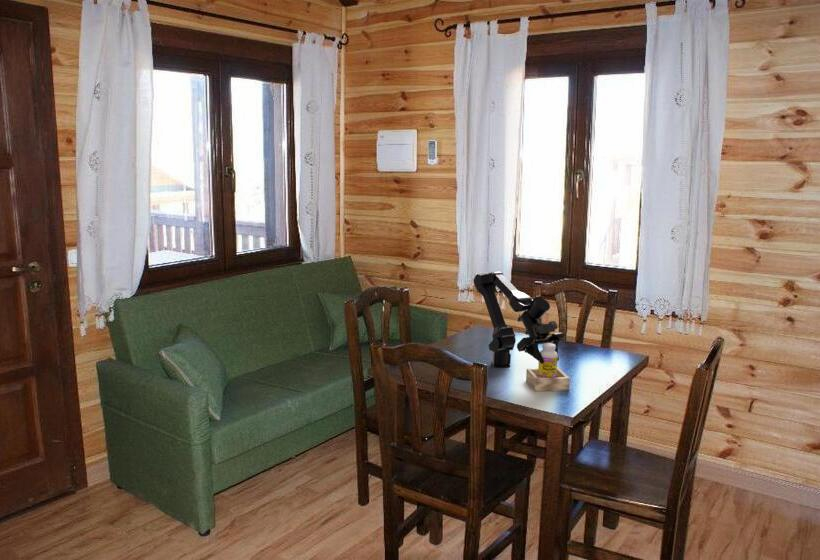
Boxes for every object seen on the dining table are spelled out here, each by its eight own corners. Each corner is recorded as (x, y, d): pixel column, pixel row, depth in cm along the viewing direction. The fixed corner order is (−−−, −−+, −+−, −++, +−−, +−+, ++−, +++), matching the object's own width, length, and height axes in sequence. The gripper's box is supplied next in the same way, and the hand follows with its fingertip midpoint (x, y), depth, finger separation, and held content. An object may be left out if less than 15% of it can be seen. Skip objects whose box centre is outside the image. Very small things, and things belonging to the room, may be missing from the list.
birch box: (535, 391, 250) (536, 379, 249) (526, 380, 262) (526, 368, 261) (569, 390, 251) (569, 378, 251) (558, 379, 264) (558, 367, 263)
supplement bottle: (539, 381, 253) (541, 346, 251) (536, 375, 260) (538, 342, 257) (557, 381, 253) (560, 347, 251) (554, 375, 260) (556, 342, 257)
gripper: (523, 316, 251) (541, 354, 244) (562, 311, 260) (581, 347, 253) (508, 332, 259) (526, 369, 252) (547, 327, 268) (565, 362, 261)
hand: (550, 361), depth 254 cm, fingers closed on supplement bottle, 7 cm apart
